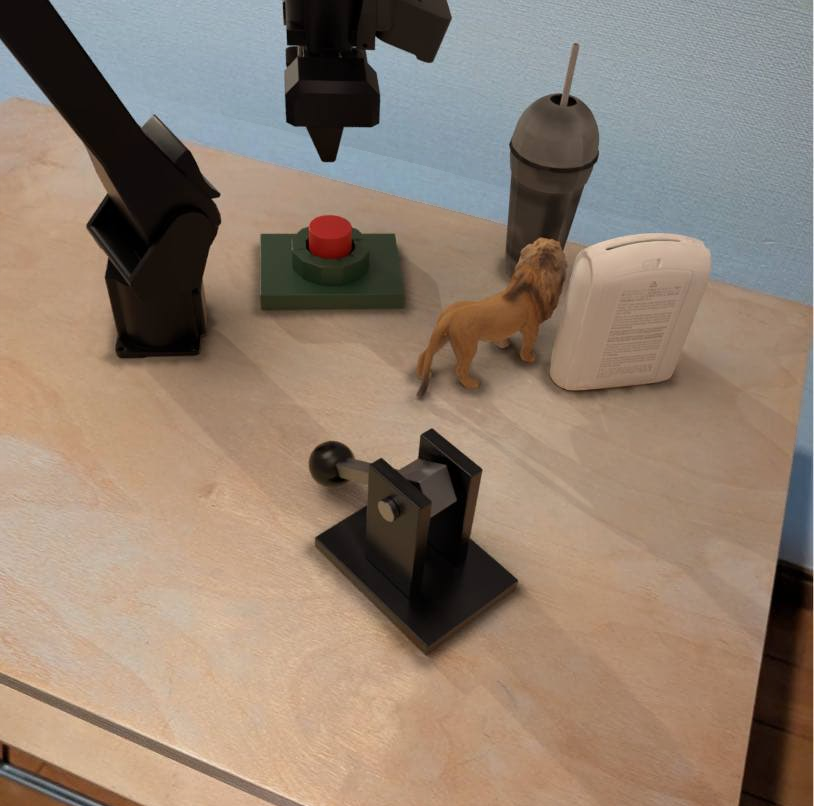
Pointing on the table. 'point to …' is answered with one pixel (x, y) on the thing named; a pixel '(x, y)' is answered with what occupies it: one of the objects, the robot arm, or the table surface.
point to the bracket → (419, 550)
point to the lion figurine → (500, 313)
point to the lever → (339, 466)
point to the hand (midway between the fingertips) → (328, 159)
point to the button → (330, 237)
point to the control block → (330, 274)
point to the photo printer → (629, 310)
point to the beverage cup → (549, 168)
